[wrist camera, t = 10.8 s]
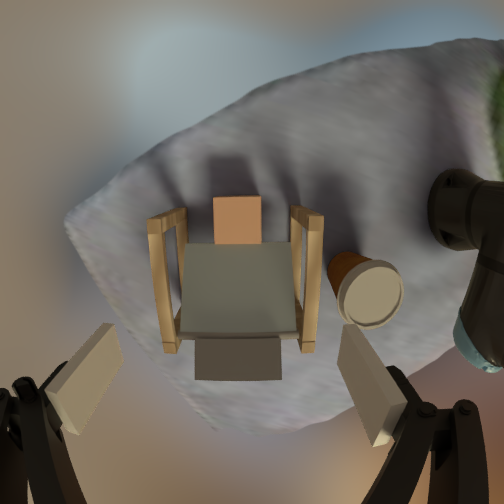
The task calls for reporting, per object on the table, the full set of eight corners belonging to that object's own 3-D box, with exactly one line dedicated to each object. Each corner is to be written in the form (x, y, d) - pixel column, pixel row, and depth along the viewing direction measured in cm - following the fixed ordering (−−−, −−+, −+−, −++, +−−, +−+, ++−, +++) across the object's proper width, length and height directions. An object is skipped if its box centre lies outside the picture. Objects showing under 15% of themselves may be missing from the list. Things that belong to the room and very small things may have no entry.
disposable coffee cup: (306, 284, 44) (325, 318, 32) (335, 231, 42) (366, 249, 30) (353, 305, 45) (381, 341, 33) (381, 256, 43) (418, 280, 31)
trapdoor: (291, 247, 38) (293, 239, 36) (298, 377, 32) (301, 378, 29) (185, 248, 38) (181, 241, 36) (180, 377, 31) (175, 378, 29)
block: (259, 235, 42) (259, 195, 40) (261, 243, 36) (261, 196, 34) (219, 236, 42) (218, 195, 40) (214, 244, 36) (213, 197, 34)
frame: (301, 205, 41) (323, 216, 28) (297, 308, 45) (314, 352, 32) (176, 207, 41) (146, 219, 28) (184, 309, 45) (164, 353, 32)
